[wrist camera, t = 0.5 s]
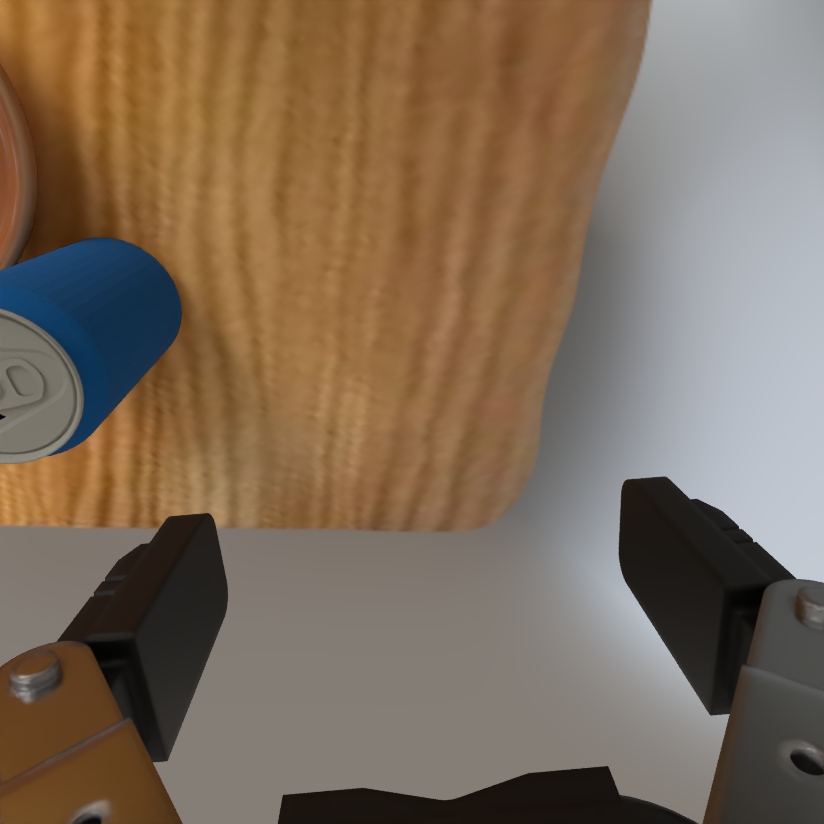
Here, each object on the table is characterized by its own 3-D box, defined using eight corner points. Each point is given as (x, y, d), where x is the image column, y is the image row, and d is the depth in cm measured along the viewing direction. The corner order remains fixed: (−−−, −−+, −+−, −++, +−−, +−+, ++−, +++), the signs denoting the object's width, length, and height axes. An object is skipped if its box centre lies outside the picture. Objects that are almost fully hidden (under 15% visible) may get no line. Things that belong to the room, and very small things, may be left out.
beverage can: (27, 252, 29) (-165, 319, 18) (156, 221, 29) (38, 270, 18) (86, 373, 32) (-52, 493, 21) (204, 344, 32) (126, 451, 21)
